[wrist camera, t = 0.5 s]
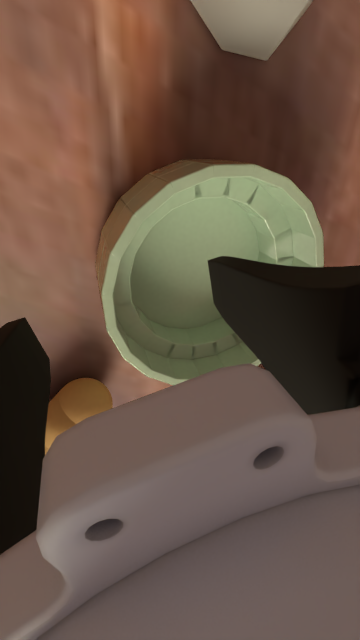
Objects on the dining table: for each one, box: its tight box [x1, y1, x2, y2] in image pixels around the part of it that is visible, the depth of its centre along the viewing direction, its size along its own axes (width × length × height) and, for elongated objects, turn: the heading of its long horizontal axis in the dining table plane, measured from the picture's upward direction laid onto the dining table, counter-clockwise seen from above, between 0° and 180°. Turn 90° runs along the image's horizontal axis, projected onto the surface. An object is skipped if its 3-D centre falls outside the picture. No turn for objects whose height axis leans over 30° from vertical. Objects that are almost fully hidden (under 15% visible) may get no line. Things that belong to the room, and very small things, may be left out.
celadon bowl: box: [95, 159, 324, 385], centre depth 20 cm, size 14×14×6 cm
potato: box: [45, 378, 112, 455], centre depth 23 cm, size 7×4×4 cm, turn 134°
